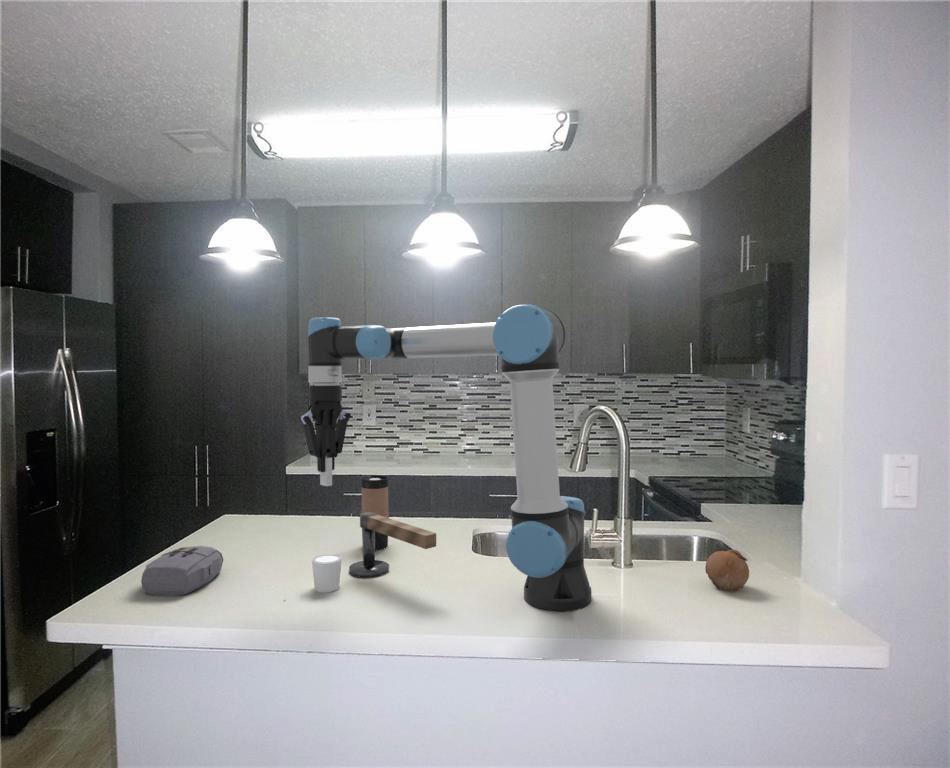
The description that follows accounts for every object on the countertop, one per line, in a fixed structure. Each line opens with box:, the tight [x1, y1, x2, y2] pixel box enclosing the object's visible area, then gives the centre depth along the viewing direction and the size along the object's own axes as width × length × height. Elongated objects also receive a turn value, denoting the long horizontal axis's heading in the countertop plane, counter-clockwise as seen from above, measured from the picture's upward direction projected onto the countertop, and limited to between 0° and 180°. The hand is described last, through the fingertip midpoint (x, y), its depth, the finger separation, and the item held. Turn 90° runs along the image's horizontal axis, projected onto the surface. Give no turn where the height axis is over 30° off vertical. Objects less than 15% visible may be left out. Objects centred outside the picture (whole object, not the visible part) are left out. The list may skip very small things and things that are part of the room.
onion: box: [705, 549, 750, 592], centre depth 145 cm, size 10×9×10 cm
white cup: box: [311, 554, 342, 593], centre depth 146 cm, size 7×7×7 cm
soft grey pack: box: [140, 545, 224, 597], centre depth 150 cm, size 15×8×20 cm
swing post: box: [348, 528, 390, 579], centre depth 157 cm, size 10×10×11 cm
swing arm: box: [359, 512, 437, 550], centre depth 149 cm, size 27×4×3 cm, turn 43°
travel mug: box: [361, 474, 390, 551], centre depth 177 cm, size 8×8×20 cm
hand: (326, 484), depth 145 cm, fingers closed
